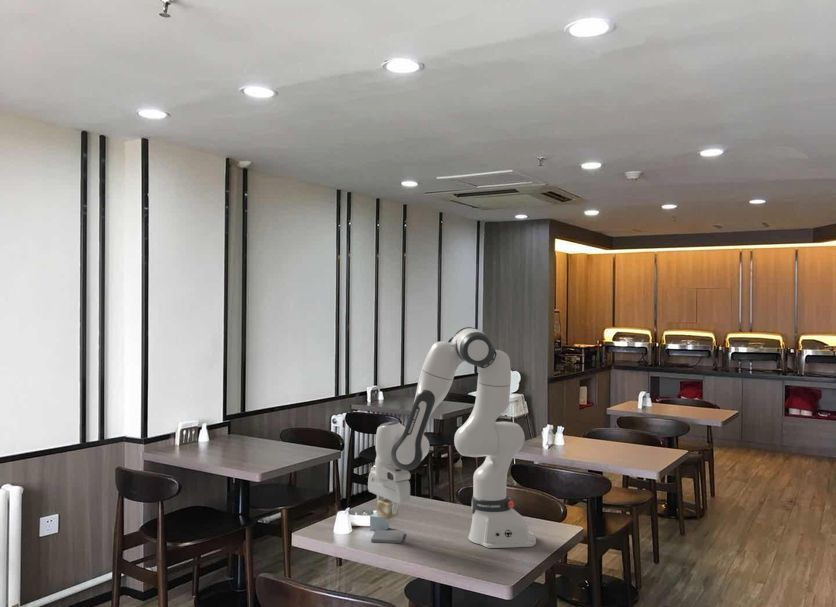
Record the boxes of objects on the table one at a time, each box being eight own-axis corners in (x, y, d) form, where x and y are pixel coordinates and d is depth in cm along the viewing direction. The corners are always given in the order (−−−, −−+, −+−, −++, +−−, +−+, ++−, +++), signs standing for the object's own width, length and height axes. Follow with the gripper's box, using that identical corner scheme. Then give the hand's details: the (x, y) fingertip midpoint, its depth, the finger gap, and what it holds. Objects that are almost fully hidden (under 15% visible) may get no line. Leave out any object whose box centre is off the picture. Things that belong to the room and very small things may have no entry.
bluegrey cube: (388, 528, 239) (389, 513, 239) (383, 532, 234) (383, 517, 234) (376, 526, 241) (376, 512, 241) (370, 530, 236) (370, 516, 236)
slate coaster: (404, 533, 232) (404, 530, 232) (401, 543, 222) (401, 540, 222) (376, 532, 233) (376, 529, 233) (371, 542, 223) (371, 539, 223)
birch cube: (398, 516, 228) (398, 501, 228) (387, 519, 224) (387, 504, 224) (387, 512, 231) (388, 498, 231) (377, 516, 227) (377, 501, 227)
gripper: (363, 465, 234) (363, 505, 234) (397, 477, 218) (397, 520, 218) (378, 462, 238) (378, 502, 238) (413, 474, 221) (413, 517, 221)
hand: (387, 511), depth 228 cm, fingers closed on birch cube, 5 cm apart
